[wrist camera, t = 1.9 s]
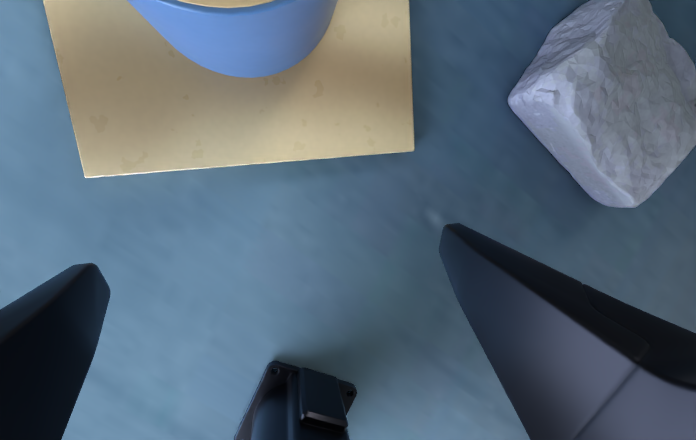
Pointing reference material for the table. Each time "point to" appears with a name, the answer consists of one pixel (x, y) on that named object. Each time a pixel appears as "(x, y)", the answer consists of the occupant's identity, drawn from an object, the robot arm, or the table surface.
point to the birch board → (230, 93)
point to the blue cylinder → (240, 31)
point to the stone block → (611, 100)
